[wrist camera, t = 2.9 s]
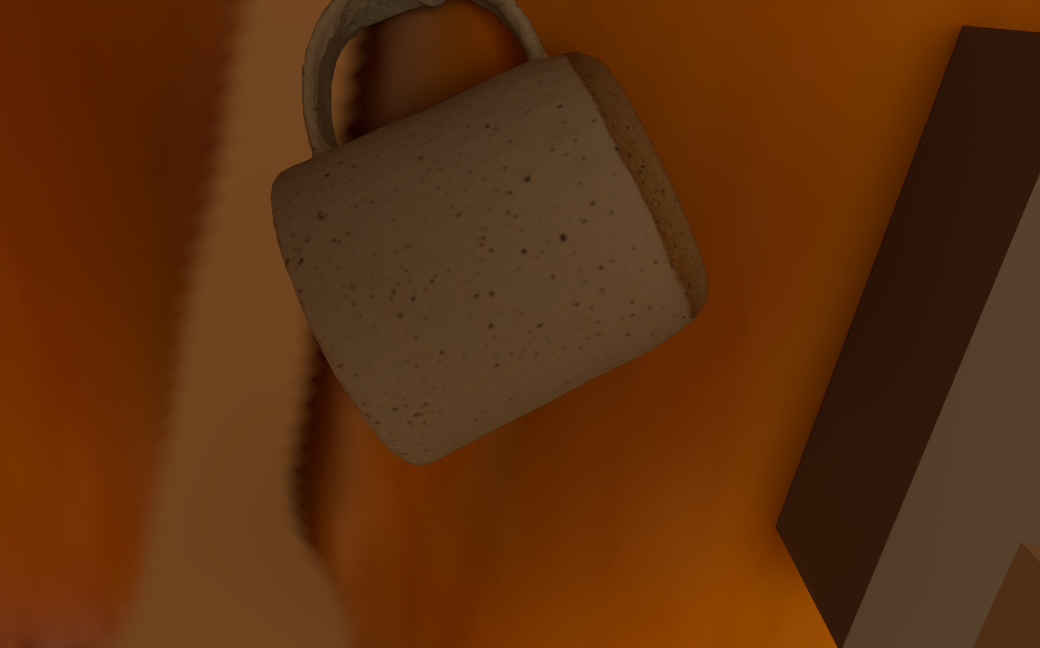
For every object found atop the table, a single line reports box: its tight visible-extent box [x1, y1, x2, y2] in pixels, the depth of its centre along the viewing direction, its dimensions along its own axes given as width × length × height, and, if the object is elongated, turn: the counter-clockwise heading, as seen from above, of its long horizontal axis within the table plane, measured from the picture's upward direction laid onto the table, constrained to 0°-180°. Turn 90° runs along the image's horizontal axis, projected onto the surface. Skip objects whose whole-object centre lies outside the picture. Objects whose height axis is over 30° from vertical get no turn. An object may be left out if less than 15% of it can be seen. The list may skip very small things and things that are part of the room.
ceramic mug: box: [271, 0, 708, 465], centre depth 23 cm, size 11×8×8 cm
